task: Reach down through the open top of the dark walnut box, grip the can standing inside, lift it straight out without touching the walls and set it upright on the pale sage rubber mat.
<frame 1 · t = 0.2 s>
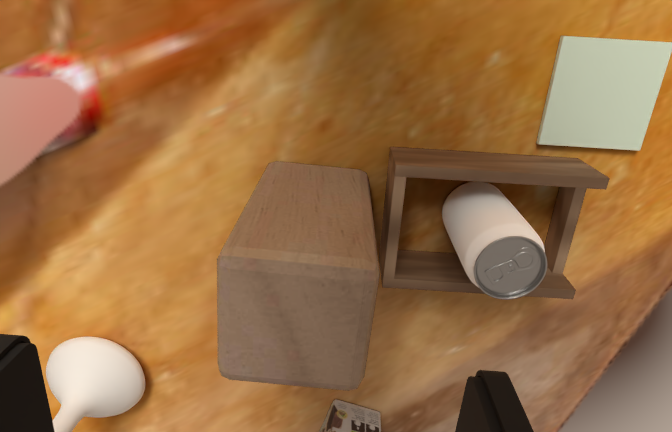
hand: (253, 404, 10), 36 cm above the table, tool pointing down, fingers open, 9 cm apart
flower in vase: (102, 370, 57), on the table
coffee box: (344, 428, 60), on the table
can: (472, 209, 48), resting in walnut box
block: (314, 208, 48), on the table
walnut box: (473, 210, 47), on the table
sage mat: (600, 94, 43), on the table
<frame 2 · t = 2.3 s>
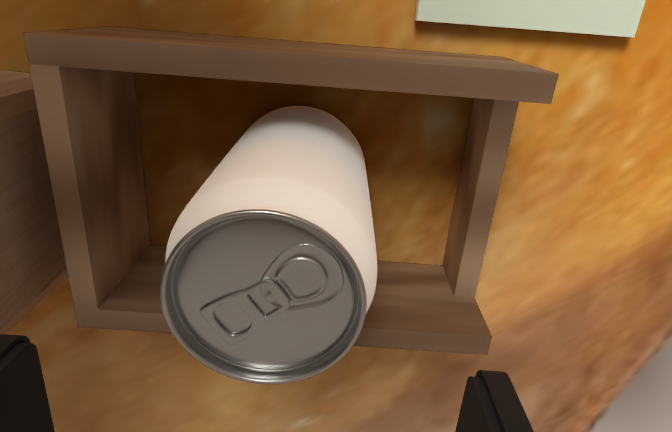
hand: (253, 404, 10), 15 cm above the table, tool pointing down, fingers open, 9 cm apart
can: (301, 166, 24), resting in walnut box
walnut box: (300, 168, 24), on the table
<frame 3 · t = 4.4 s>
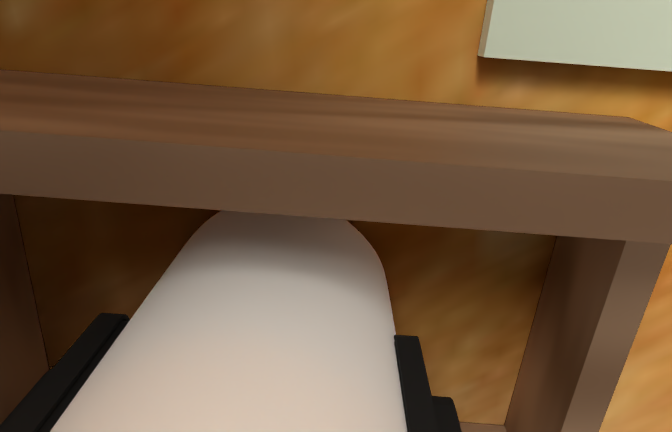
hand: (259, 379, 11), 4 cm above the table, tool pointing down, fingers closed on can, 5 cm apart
can: (283, 285, 15), resting in walnut box, touching gripper
walnut box: (283, 287, 15), on the table
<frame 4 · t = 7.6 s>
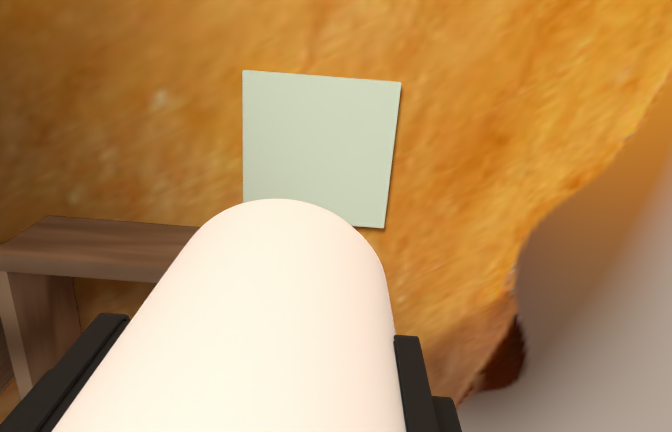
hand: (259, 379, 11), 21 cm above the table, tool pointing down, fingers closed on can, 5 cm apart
can: (283, 286, 15), point 17 cm above the table, touching gripper
walnut box: (181, 299, 35), on the table
sage mat: (318, 151, 30), on the table
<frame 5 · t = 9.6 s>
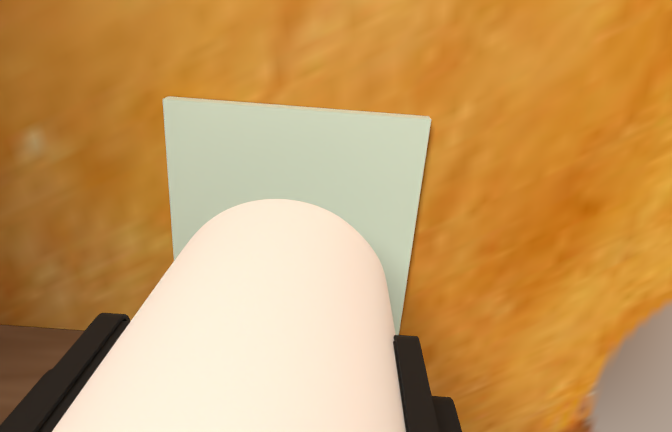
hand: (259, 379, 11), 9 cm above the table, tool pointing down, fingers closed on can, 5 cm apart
can: (283, 286, 15), point 4 cm above the table, touching gripper
walnut box: (96, 429, 24), on the table
sage mat: (294, 225, 19), on the table
when the fingers open (6 cm above the table, at t = 11.2 s): can drops 1 cm, resting on sage mat.
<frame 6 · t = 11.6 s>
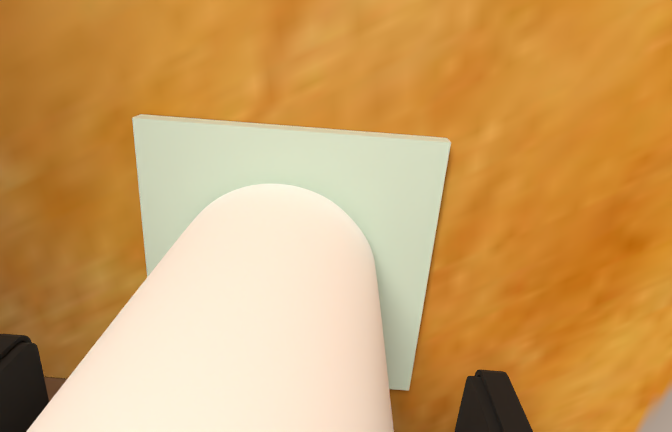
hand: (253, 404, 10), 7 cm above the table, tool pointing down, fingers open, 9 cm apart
can: (279, 267, 16), resting on sage mat
sage mat: (288, 261, 16), on the table
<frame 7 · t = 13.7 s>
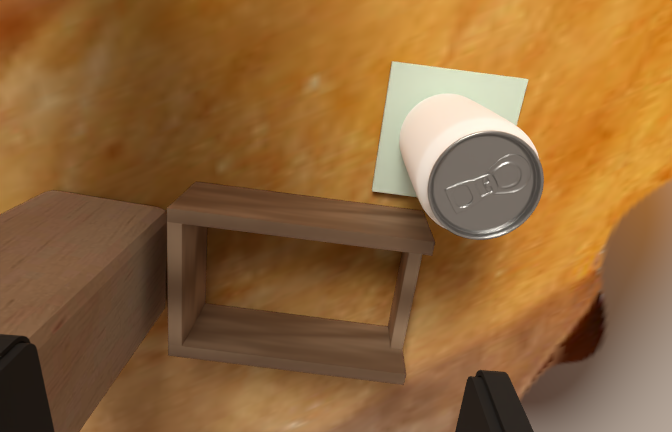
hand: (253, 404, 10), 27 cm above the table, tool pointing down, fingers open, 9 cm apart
can: (442, 137, 34), resting on sage mat
block: (112, 249, 39), on the table
walnut box: (302, 264, 39), on the table
sage mat: (444, 136, 35), on the table
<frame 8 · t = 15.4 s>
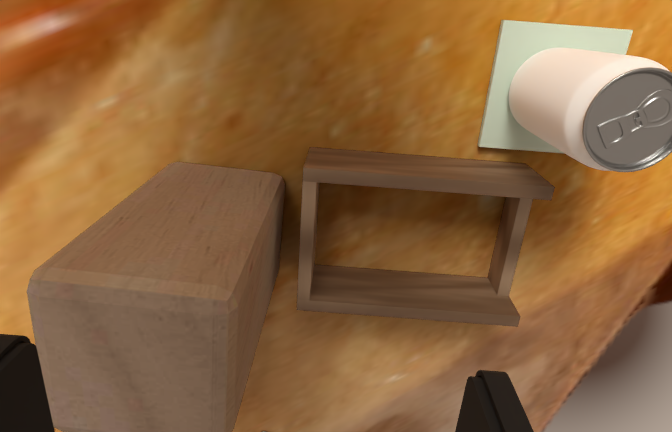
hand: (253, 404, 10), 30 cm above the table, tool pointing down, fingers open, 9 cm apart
can: (548, 90, 36), resting on sage mat
block: (227, 217, 42), on the table
walnut box: (408, 221, 41), on the table
sage mat: (549, 90, 37), on the table
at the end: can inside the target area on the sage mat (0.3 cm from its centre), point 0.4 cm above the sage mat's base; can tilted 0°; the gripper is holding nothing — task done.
